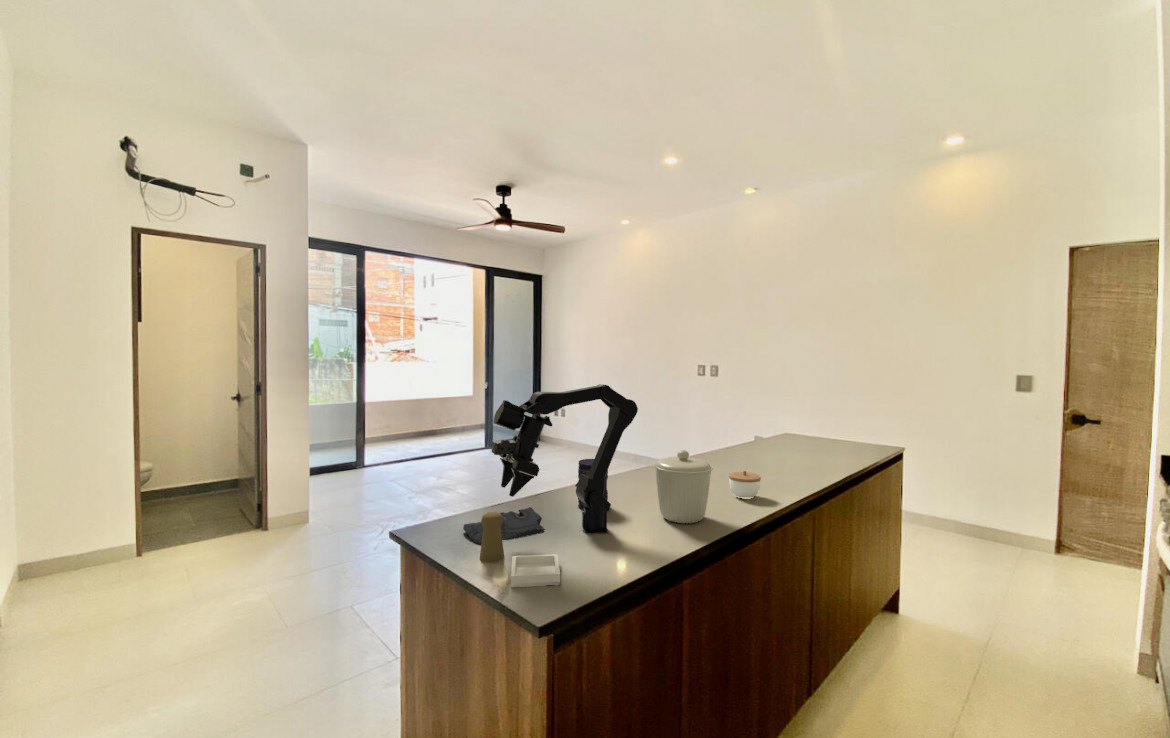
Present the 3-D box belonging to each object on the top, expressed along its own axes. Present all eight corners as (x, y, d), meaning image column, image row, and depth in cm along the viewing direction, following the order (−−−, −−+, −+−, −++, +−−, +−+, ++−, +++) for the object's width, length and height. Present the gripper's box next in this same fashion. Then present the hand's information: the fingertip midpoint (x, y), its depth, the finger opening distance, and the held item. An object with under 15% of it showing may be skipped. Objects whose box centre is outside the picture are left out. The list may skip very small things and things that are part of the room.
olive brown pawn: (481, 552, 125) (481, 509, 124) (505, 552, 125) (505, 509, 125) (478, 563, 119) (478, 517, 118) (503, 562, 119) (503, 517, 119)
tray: (557, 564, 118) (557, 554, 118) (560, 585, 108) (560, 573, 108) (512, 566, 117) (512, 556, 117) (510, 587, 106) (510, 576, 106)
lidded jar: (739, 491, 183) (740, 466, 183) (766, 497, 175) (766, 471, 174) (722, 496, 176) (722, 470, 176) (749, 503, 168) (749, 476, 167)
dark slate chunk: (457, 531, 141) (457, 514, 141) (526, 517, 153) (526, 502, 153) (477, 549, 129) (477, 531, 128) (550, 532, 141) (550, 516, 141)
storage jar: (572, 508, 162) (572, 462, 161) (587, 500, 170) (588, 457, 169) (598, 513, 156) (598, 466, 156) (613, 505, 165) (613, 460, 164)
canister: (643, 512, 158) (643, 446, 157) (693, 507, 164) (693, 443, 163) (669, 531, 141) (670, 458, 140) (724, 525, 146) (725, 454, 146)
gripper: (493, 421, 139) (472, 474, 137) (509, 431, 122) (485, 492, 120) (529, 434, 143) (508, 486, 141) (549, 446, 126) (526, 504, 124)
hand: (506, 491), depth 132 cm, fingers open, 9 cm apart
